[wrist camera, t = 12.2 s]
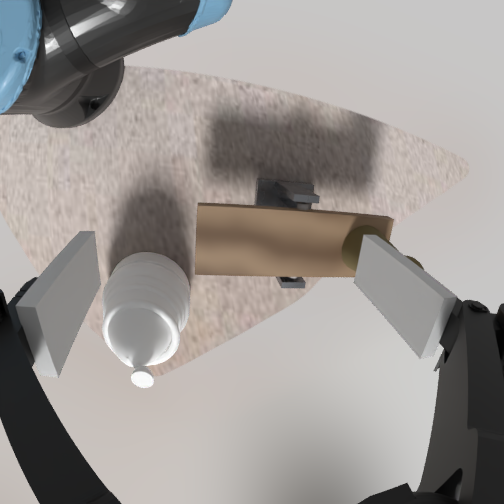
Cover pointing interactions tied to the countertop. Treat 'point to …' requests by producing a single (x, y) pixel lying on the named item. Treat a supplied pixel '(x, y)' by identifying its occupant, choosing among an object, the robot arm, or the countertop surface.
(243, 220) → the seesaw plank
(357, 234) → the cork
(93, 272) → the robot arm
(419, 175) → the countertop surface
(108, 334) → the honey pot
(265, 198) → the seesaw stand
